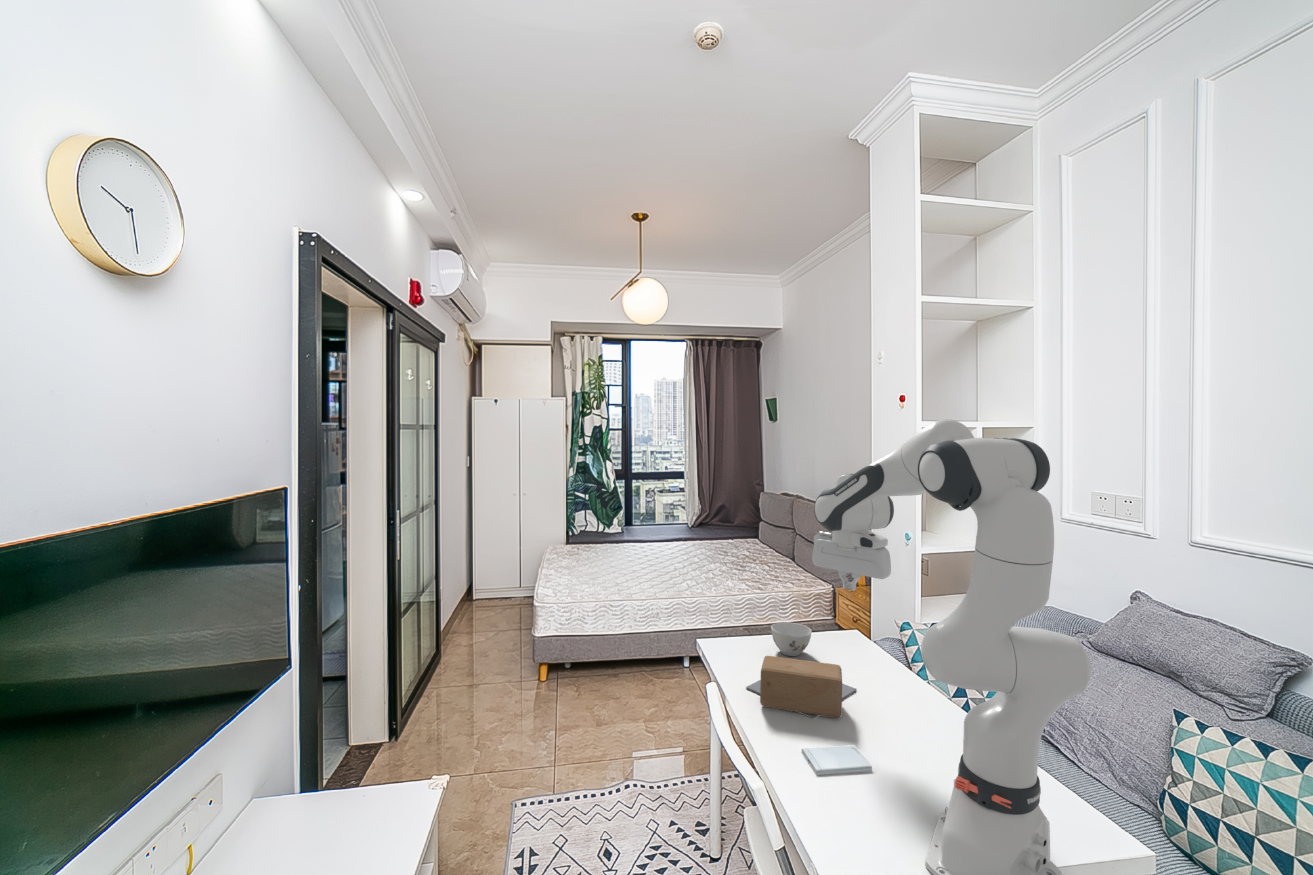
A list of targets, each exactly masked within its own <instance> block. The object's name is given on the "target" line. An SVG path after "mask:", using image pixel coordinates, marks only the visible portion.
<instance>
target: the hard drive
mask: <svg viewBox="0 0 1313 875" xmlns="http://www.w3.org/2000/svg"><path fill="white" fill-rule="evenodd" d="M801 754H802V755H803V757H804V758H805V760H806V761H807V762H808V764H809V766H810V767H811V769H812V770H813V772H814V773H815V775H816V776H818V775H819V776H820V775H832V774H833V775H834V774H848V773H849V774H850V773H862V772H872V771H873V766H872V764H871V763H870V762H869V761H868V760H867V758H866V757H865V756H864V754H862V752H861V751H860V750H859V749H858V747H857V746H856V745H854V744H852V745H851V744H849V745H839V746H838V745H837V746H836V745H835V746H834V745H833V746H823V747H821V746H820V747H806V748H801Z"/></svg>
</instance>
